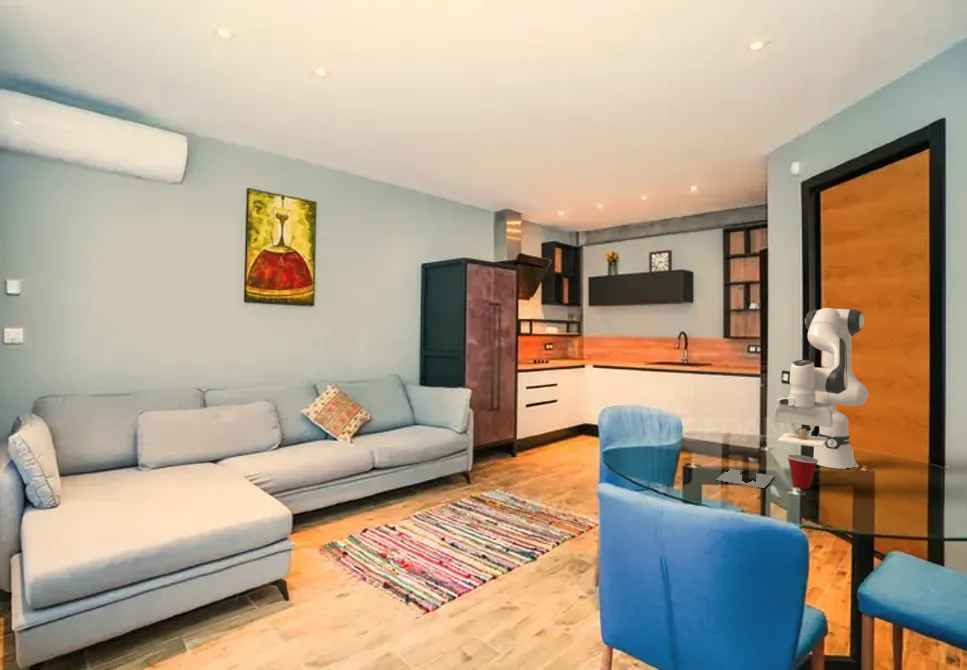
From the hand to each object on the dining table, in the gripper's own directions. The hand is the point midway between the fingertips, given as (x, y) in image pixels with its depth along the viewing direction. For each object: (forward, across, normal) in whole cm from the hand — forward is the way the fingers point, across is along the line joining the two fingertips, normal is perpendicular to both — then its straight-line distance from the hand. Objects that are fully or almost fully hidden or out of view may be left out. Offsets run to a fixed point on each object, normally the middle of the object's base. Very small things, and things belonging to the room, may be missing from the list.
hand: (802, 435), depth 206 cm
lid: (+2, 0, 0) cm, 2 cm away
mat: (+20, +20, +4) cm, 29 cm away
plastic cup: (+21, 0, 0) cm, 21 cm away
